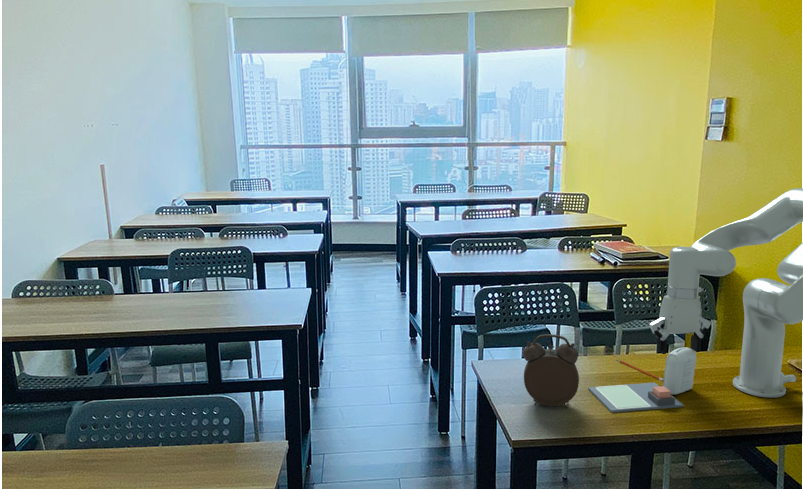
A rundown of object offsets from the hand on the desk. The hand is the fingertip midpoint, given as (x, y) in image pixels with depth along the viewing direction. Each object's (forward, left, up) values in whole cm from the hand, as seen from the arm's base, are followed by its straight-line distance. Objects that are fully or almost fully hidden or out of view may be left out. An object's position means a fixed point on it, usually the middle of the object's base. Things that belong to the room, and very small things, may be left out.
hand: (678, 351), depth 153 cm
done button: (+8, +6, -10) cm, 14 cm away
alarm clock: (+38, +2, -12) cm, 40 cm away
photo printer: (0, 0, -12) cm, 12 cm away
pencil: (+3, -15, -12) cm, 19 cm away
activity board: (+14, +2, -12) cm, 18 cm away
